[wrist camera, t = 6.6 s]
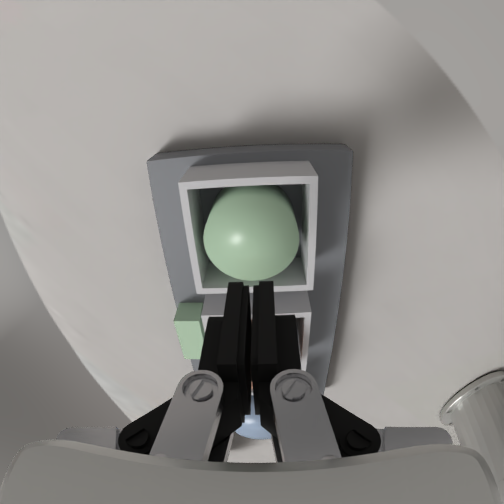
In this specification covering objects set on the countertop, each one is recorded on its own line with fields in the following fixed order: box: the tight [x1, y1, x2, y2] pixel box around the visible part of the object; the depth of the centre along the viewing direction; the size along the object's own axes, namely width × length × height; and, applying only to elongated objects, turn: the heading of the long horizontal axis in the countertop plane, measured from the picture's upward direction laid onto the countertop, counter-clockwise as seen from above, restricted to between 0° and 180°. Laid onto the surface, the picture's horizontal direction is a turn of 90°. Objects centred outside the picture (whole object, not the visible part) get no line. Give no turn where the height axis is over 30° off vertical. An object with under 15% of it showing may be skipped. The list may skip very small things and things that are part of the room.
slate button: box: [235, 395, 271, 439], centre depth 25 cm, size 5×5×3 cm
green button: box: [203, 185, 299, 281], centre depth 18 cm, size 5×5×3 cm
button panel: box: [147, 144, 353, 395], centre depth 23 cm, size 25×12×5 cm, turn 3°
